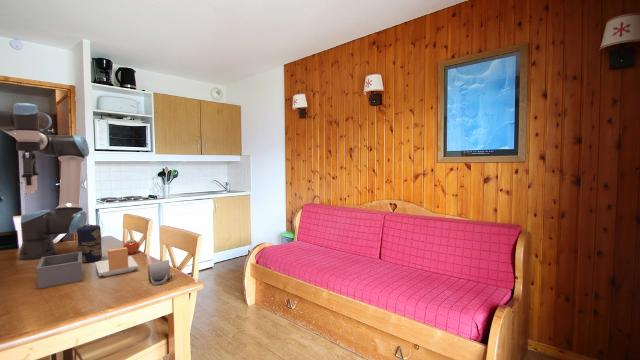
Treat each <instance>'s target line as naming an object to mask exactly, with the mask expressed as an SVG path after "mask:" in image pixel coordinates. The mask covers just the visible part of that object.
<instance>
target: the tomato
mask: <svg viewBox="0 0 640 360" xmlns="http://www.w3.org/2000/svg"><path fill="white" fill-rule="evenodd" d="M125 247H127V248H128V255H134V254H136V253H137V252H138V251H139V249H140V242H138V241H137V240H136V239H133V238H132V237H131V238H130V239H129V240H127V241H126V242H125V243H124V245H123V248H125Z"/></svg>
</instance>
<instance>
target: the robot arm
mask: <svg viewBox="0 0 640 360" xmlns="http://www.w3.org/2000/svg"><path fill="white" fill-rule="evenodd" d="M52 124H53V121H52V118H51V117H50V115H48V114H46V113H45V112H42V111H39V109H38V105H37V104H33V103H25V102H24V103H23V102H18V103H14V104H13V110H3V109H2V110H1V109H0V130H1V131H3V132H4V133H6V134H8V135H9V136H11V137H13V138H14V139H15V140H16V142H15V148H16V151H18V152H22V157H21V159H22V164H23V166H22V167H23V174H21V178H22V179H23V180H24V194H35V192H36V191H38V178H37V176H39V173H38V171H37V166H36V165H37V164H36V163H37V161H36V159H37V156H36V154H35V153H38V154H41V155H44V156H49V157H57V159H58V160H59V161H60V162H61V165H60V180H59V182H60V183H59V184H60V186H59V187H60V188H59V200H58V206H57V207H55V208H54V209H55V210H54V212H51V210H50V209H41V210H36V211H30V212H26V213H23V214H22V215H21V216H20V228H21V229H20V230H21V231H20V232H21V246H20V249H19V251H18V259H19V260H22V261H28V260H37V259H41V257H47V256H54V255H57V253H58V248H57V246H56V244H55V242H54V240H53V235H66V234H70V235H72V234H77V229H78V228H79V227H82V226H84V225H87V224H86V223H87V218H88V216H87V212H86V211H85V210H83V208H84V207H82V206H81V205H80V196H81V175H82V174H81V171H82V163H83V162H84V161H85V160H86V159H85V157H86V158H87V157H88V156H89V154H90V149H89V148H90V147H89V144H88V141H87V139H86V137H84V136H83V135H75V134H73V135H72V134H71V135H67V134H65V135H63V134H61V135H60V134H58V135H57V134H56V135H55V134H43V133H42V132H40V130H47V129H49V128H50V127H51V126H52ZM34 152H35V153H34Z"/></svg>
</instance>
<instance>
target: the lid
mask: <svg viewBox="0 0 640 360" xmlns="http://www.w3.org/2000/svg"><path fill="white" fill-rule="evenodd" d="M94 266H95V268H96V271H97V274H98V276H99V277H101V276H103V277H109V276H110V277H111V276H115V275H121V274H125V273H131V272H134V270H138V269H139V265H138V263H137V262H136V261H135V259H134V258H133V256H132V255H130V256H129V254H128V248H127V247H125V248H124V247H120V248H119V247H118V248H113V249H107V259H106V260H100V261H94Z"/></svg>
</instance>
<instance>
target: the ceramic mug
mask: <svg viewBox="0 0 640 360" xmlns="http://www.w3.org/2000/svg"><path fill="white" fill-rule="evenodd" d="M170 267H171V266H170V260H169V259H166V260H161V261H156V262H155V261H154V262H151V263H149V264H148V265H147V279H148V281H150V282H151V284H152V285H155V286H161V285H163V284H165V283H166V282H167V280H170V279H171V270H170V269H171V268H170Z"/></svg>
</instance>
